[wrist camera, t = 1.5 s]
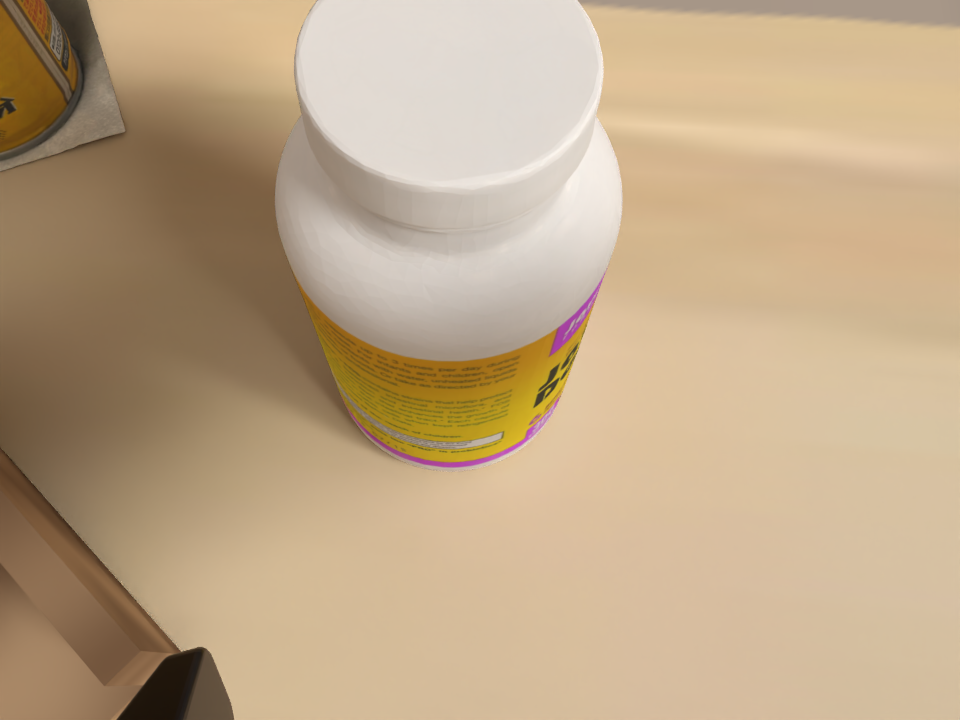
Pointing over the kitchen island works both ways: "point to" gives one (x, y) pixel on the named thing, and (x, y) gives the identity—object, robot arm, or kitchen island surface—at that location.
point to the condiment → (51, 81)
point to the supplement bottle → (449, 214)
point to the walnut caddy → (64, 618)
